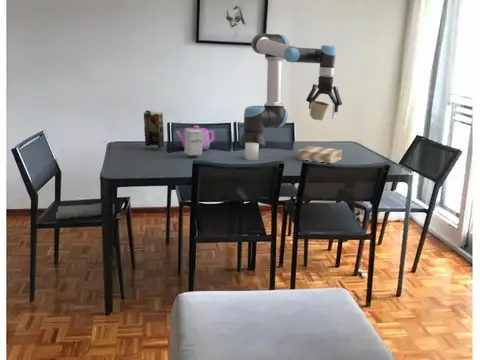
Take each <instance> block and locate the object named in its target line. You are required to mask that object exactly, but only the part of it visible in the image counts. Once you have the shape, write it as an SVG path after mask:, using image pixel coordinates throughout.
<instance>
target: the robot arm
mask: <svg viewBox="0 0 480 360" xmlns="http://www.w3.org/2000/svg"><path fill="white" fill-rule="evenodd" d="M251 48H252V50H253V51H254V52H255V53H257V54H260V55H264V58H265V60H267V75H266V76H267V77H266V79H267V80H266V102H265V103H264V105H251V106H247V107H246V108H245V109H244V113H243V133H242V135H241V137H240V140H239V141H240V142H239V146H240V147H243V148H245V143H248V142H253V143H258V144H259V149H262V148H265V147H266V144H267V143H266V139H265V136H264V129H268V128H269V129H273V128H274V129H277V128H282V127H284V126H285V124H286V123H287V122H288V121H287V120H288V118H289V117H288V112H287V110H286V108H284V107H285V106H284V105H285V104H283V103H282V86H283V85H282V83H283V81H282V80H283V61H284V60H285V61H286V62H288V63H294V64H295V63H300V64H301V63H307V64H319V71H318V75H319V76H318V81H317V83H318V84H316V83H315V84H312V87H311V90H310V91H309V93H308V96H307V97H306V102H308V103H309V104H308V109H309V116H310V117H311V113H312V101H317V98H319V96H320V95H321V94H322V95H328V97H329V98H330V100H331V102H332V104H333V105H332V112H331V113H332V114H331V115H332V116H331V119H336V118H337V113H338V112H339V106H342V105H343V102H342V98H341V96H340V94H339V87H338V86H337V85H336V86H333V83H334V74H335V62H336V55H337V54H336V53H337V51H336V49H337V48H336V46H335V45H326V44H325V45H324V44H322V45H321V47H320V48H316V47H315V48H313V47H297V46H293V45H290V42H289V39H288V37H286V36H285V35H284V34H279V33H278V34H277V33H276V34H275V33H257V34H256V35H255V36H254V37H253V38H252V40H251ZM317 89H318V90H317Z"/></svg>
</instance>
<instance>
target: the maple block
mask: <svg viewBox="0 0 480 360" xmlns="http://www.w3.org/2000/svg"><path fill="white" fill-rule="evenodd" d="M342 157H343V150H342V149H337V148H330V147H329V148H328V147H322V146H315V145H310V146H306V147H304V148H301V149H298V152H297V160H299V161H305V160H309V161H308V162H312V161H317V162H316V163H319V162H326V163H332V164H333V163H336V162H338V161H340V160H342ZM326 163H325V164H326Z"/></svg>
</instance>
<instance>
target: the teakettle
mask: <svg viewBox="0 0 480 360" xmlns="http://www.w3.org/2000/svg"><path fill="white" fill-rule="evenodd" d="M185 130H201V131H203V146H202V150H209V149H210V146H211V145H210V144H211V143H212V142H214V141H215V130H210V129H209V130H208V129H207V128H205V127H204V128H203V127H200V125H193V127H185V128H184V130H183V133H181V132H180V130H176V131H175V133H176V134H177V137H178V138H179V140H180V142H181V144H182V147H183V148H184V149H185Z"/></svg>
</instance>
